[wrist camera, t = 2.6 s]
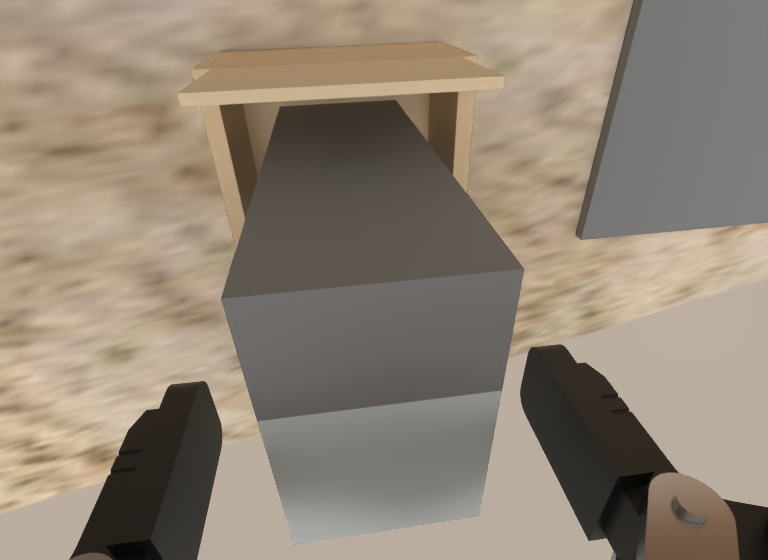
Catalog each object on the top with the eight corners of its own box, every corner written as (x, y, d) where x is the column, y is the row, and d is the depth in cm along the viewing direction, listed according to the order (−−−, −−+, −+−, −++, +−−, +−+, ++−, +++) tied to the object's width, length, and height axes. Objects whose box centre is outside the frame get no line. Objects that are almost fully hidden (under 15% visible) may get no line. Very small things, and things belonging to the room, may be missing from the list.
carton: (219, 51, 17) (150, 95, 10) (441, 41, 18) (527, 74, 11) (271, 295, 24) (253, 427, 17) (431, 279, 25) (480, 399, 18)
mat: (638, -19, 18) (648, -19, 18) (889, -27, 19) (905, -28, 19) (575, 234, 25) (581, 239, 24) (764, 217, 26) (773, 222, 25)
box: (279, 106, 18) (221, 298, 7) (395, 99, 19) (523, 268, 7) (304, 265, 23) (293, 544, 11) (397, 256, 23) (479, 516, 12)
